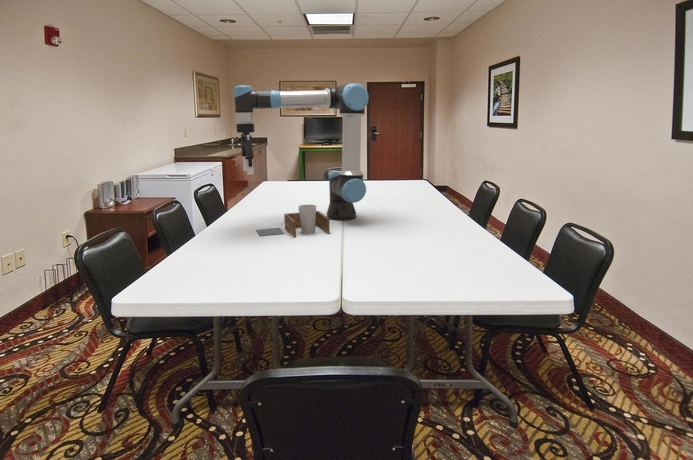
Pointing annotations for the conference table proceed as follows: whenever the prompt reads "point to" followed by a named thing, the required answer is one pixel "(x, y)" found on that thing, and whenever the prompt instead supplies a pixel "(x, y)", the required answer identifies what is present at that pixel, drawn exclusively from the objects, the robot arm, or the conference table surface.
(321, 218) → the three-sided wooden box
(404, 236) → the conference table surface
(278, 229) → the mat
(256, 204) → the conference table surface
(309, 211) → the cup
